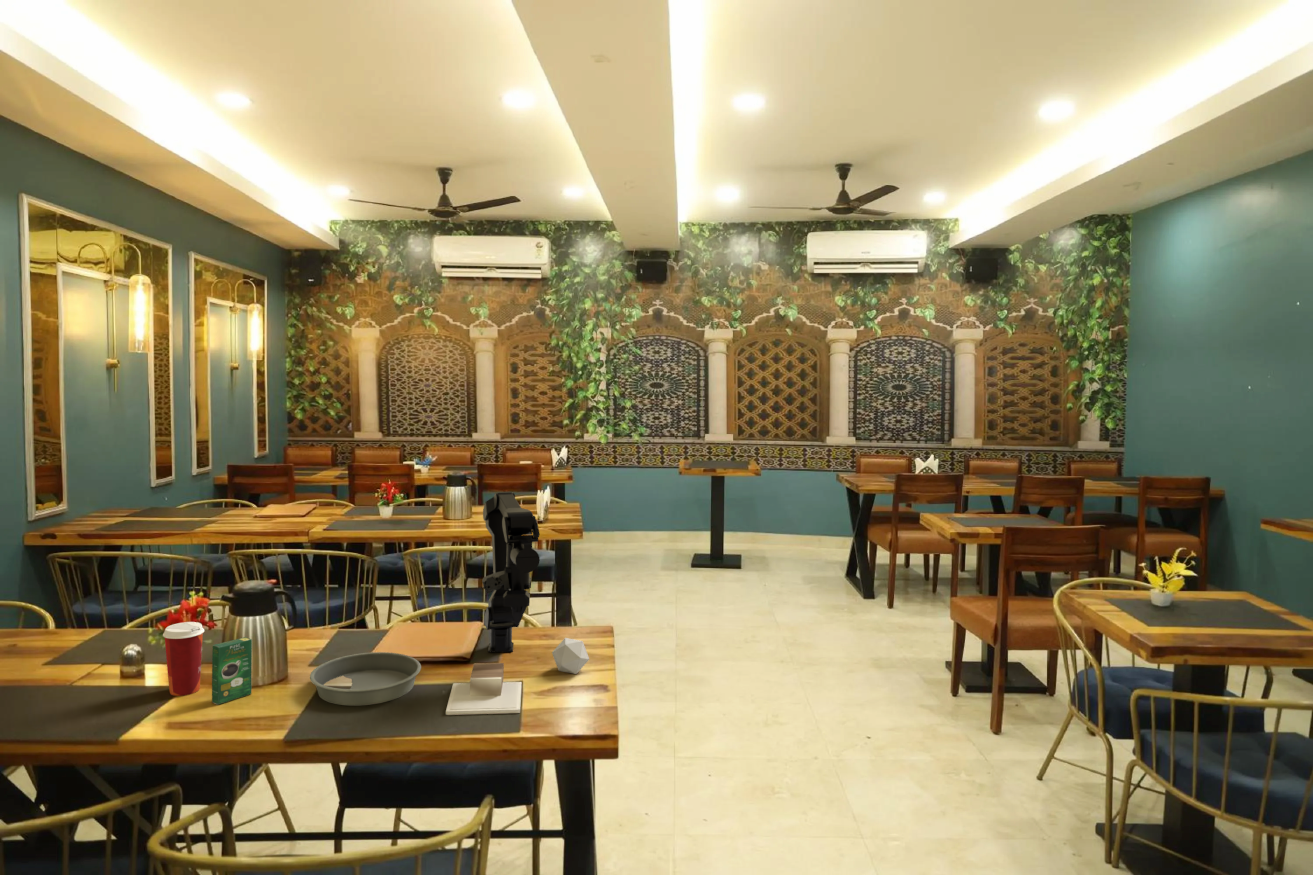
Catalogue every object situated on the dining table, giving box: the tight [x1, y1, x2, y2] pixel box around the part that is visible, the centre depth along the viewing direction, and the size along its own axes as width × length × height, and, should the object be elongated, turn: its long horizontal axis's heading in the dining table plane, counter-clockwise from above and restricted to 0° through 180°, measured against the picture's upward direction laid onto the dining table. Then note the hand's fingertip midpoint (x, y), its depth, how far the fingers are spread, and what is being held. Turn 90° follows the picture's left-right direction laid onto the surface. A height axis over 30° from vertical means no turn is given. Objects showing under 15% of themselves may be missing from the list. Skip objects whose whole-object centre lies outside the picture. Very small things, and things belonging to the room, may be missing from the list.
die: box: [551, 637, 590, 675], centre depth 211 cm, size 8×9×10 cm
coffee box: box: [211, 636, 253, 705], centre depth 187 cm, size 8×3×13 cm, turn 147°
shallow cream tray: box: [445, 681, 523, 716], centre depth 191 cm, size 16×16×1 cm
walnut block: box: [469, 662, 505, 696], centre depth 196 cm, size 4×7×10 cm
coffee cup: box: [162, 621, 205, 697], centre depth 190 cm, size 8×8×15 cm
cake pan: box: [309, 651, 422, 706], centre depth 196 cm, size 25×25×4 cm
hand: (516, 624), depth 206 cm, fingers closed
